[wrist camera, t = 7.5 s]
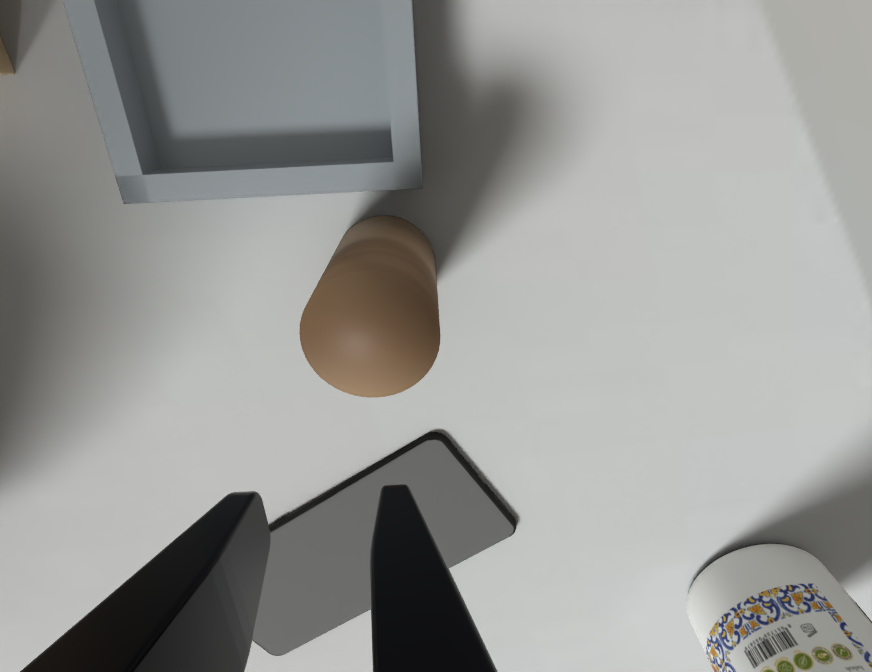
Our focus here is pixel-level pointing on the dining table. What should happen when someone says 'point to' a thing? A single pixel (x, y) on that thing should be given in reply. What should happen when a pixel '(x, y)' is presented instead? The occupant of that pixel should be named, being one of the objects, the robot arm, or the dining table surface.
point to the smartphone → (368, 539)
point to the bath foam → (777, 614)
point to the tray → (252, 95)
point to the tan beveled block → (5, 61)
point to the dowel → (374, 310)
